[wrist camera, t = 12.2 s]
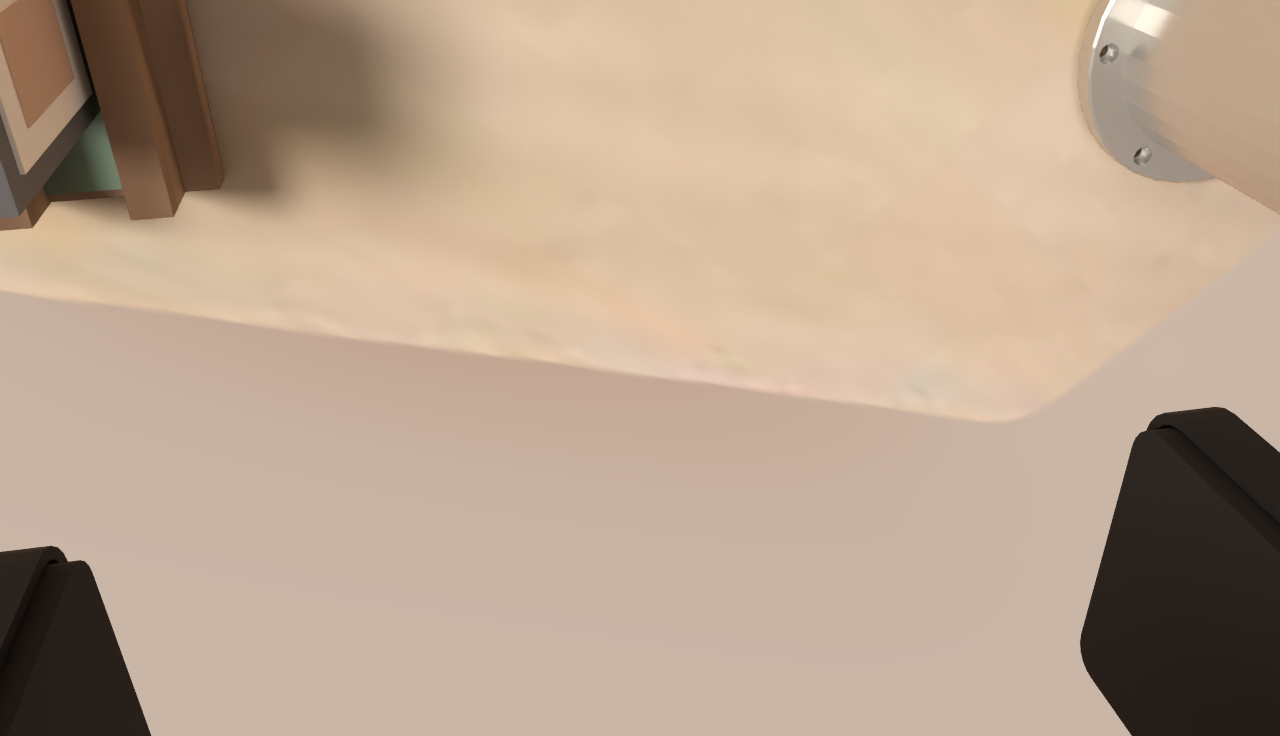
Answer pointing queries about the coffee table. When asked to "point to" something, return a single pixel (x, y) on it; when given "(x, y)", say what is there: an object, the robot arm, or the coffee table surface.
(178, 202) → the display stand
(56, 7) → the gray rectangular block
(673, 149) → the coffee table surface
